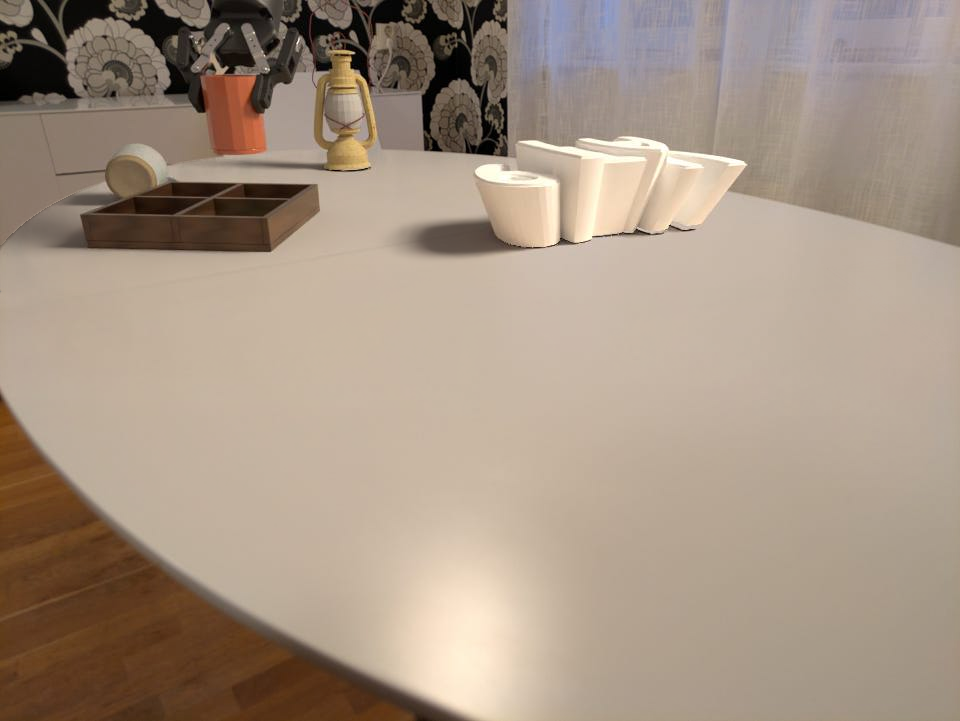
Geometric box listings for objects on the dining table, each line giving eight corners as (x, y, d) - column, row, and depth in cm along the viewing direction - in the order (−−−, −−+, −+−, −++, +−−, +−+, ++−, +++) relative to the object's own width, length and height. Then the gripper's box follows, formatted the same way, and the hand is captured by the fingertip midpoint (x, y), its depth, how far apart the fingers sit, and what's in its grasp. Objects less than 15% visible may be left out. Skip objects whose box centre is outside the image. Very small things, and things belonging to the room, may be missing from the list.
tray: (87, 247, 77) (79, 214, 76) (172, 208, 97) (168, 181, 95) (271, 251, 76) (267, 218, 75) (320, 211, 96) (317, 184, 94)
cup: (203, 154, 74) (190, 76, 71) (224, 147, 80) (213, 74, 76) (256, 155, 74) (246, 76, 71) (273, 148, 80) (265, 74, 76)
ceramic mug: (107, 205, 97) (96, 150, 94) (119, 194, 105) (109, 143, 101) (185, 203, 100) (177, 150, 97) (192, 193, 107) (185, 143, 104)
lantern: (376, 163, 137) (368, -4, 125) (381, 170, 129) (372, -8, 116) (316, 164, 135) (301, -6, 122) (317, 172, 126) (301, -10, 114)
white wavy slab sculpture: (670, 207, 100) (679, 133, 96) (747, 233, 86) (762, 147, 82) (448, 225, 89) (447, 142, 84) (495, 258, 75) (497, 160, 70)
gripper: (319, 19, 82) (301, 132, 77) (204, 18, 83) (178, 130, 77) (302, -35, 75) (282, 84, 70) (176, -36, 76) (146, 82, 70)
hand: (227, 107), depth 73 cm, fingers closed on cup, 6 cm apart
